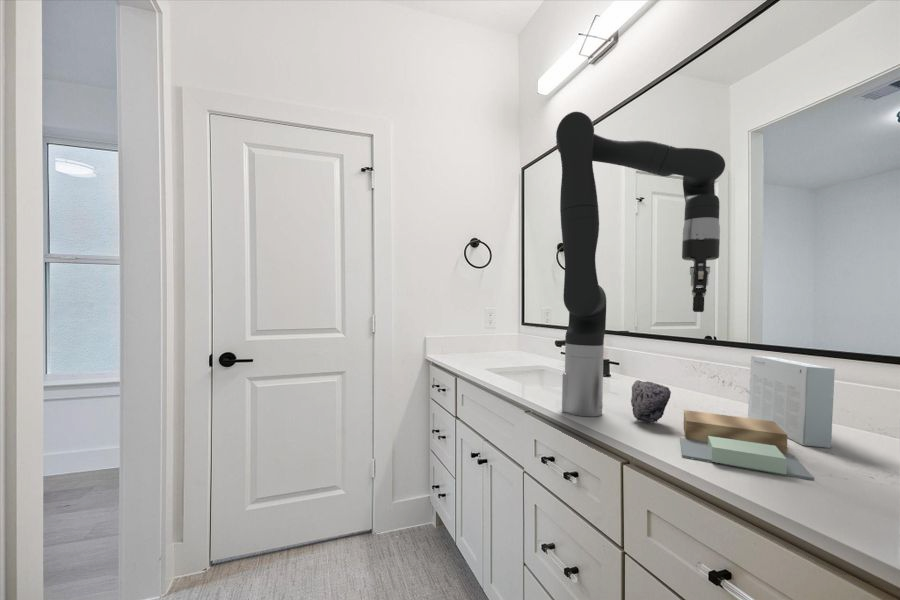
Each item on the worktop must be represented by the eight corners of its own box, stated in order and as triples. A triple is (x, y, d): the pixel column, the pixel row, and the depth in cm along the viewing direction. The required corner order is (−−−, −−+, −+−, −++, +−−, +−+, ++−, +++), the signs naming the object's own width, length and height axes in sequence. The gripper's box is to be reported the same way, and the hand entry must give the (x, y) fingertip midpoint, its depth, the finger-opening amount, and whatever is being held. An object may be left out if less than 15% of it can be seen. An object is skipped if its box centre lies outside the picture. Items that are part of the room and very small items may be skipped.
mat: (682, 457, 71) (682, 454, 71) (680, 439, 81) (680, 437, 81) (814, 480, 63) (814, 477, 63) (794, 457, 72) (794, 455, 72)
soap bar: (708, 435, 75) (707, 449, 75) (712, 447, 68) (712, 461, 68) (775, 445, 70) (775, 460, 70) (786, 458, 64) (786, 474, 64)
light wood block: (685, 440, 80) (686, 420, 80) (683, 427, 89) (683, 409, 89) (787, 456, 73) (787, 434, 73) (773, 440, 82) (774, 421, 82)
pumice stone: (673, 431, 87) (674, 385, 87) (635, 427, 89) (635, 382, 89) (661, 418, 97) (662, 377, 97) (627, 415, 99) (627, 375, 99)
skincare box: (835, 449, 78) (836, 368, 78) (803, 446, 79) (804, 366, 79) (771, 419, 98) (772, 355, 99) (746, 418, 99) (747, 354, 100)
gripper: (682, 244, 102) (679, 311, 102) (683, 235, 91) (680, 311, 91) (717, 242, 99) (714, 312, 99) (722, 233, 87) (719, 312, 87)
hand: (698, 311), depth 95 cm, fingers closed
